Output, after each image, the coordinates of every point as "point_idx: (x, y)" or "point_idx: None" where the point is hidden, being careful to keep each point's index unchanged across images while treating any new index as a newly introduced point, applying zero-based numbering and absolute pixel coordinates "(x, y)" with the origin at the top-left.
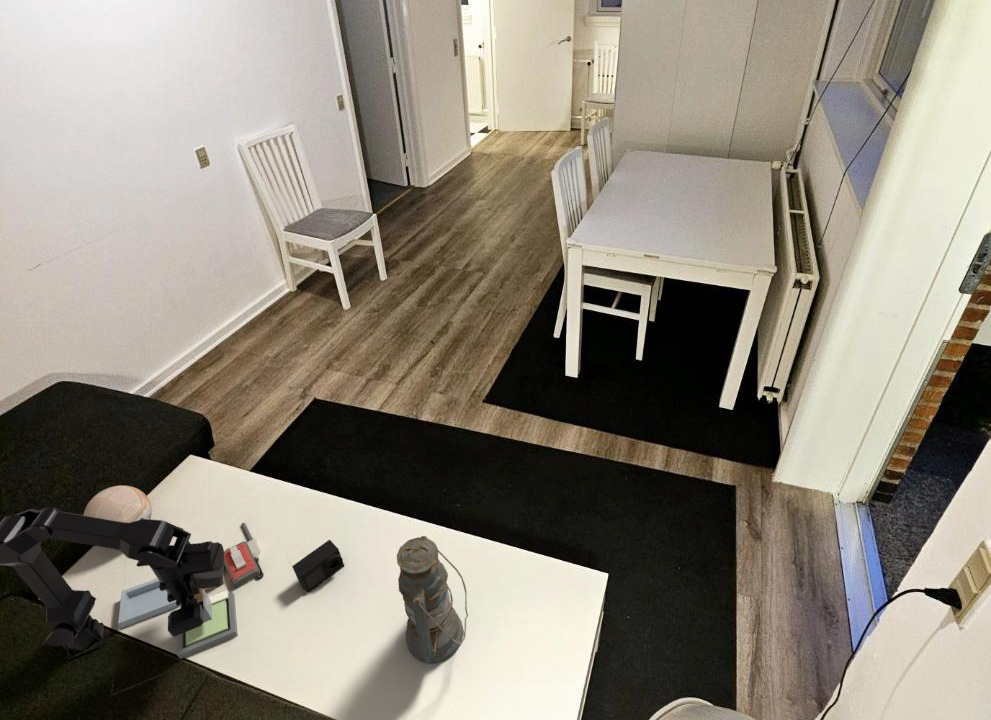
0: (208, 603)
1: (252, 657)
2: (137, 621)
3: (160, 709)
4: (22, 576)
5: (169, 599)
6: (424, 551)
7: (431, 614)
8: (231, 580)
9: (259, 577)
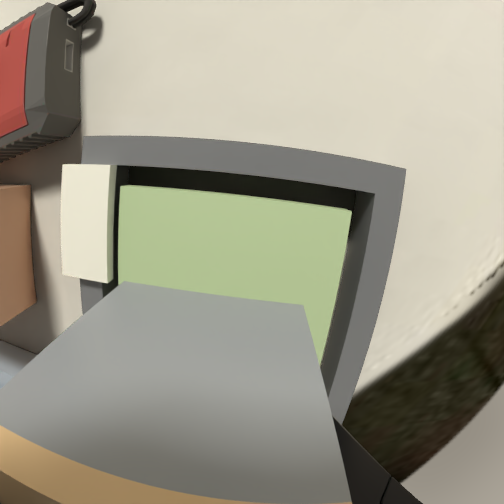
0: (163, 332)
1: (501, 148)
2: None
3: (438, 449)
4: None
5: None
6: None
7: None
8: (22, 140)
9: (88, 7)
